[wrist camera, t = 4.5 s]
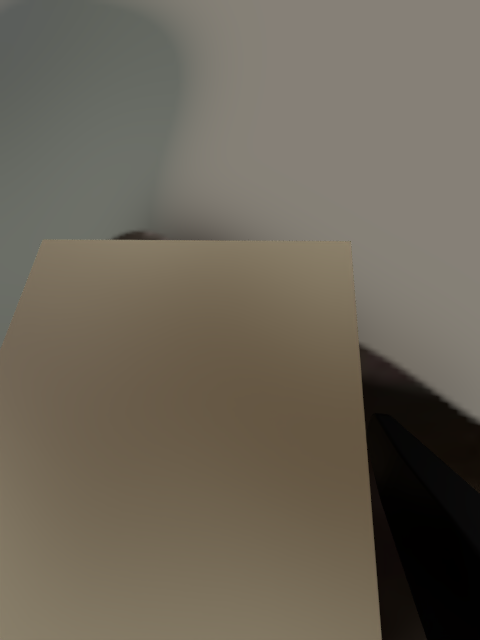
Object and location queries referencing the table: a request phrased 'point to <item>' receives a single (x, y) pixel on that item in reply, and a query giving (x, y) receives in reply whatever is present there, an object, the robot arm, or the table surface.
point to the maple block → (185, 445)
